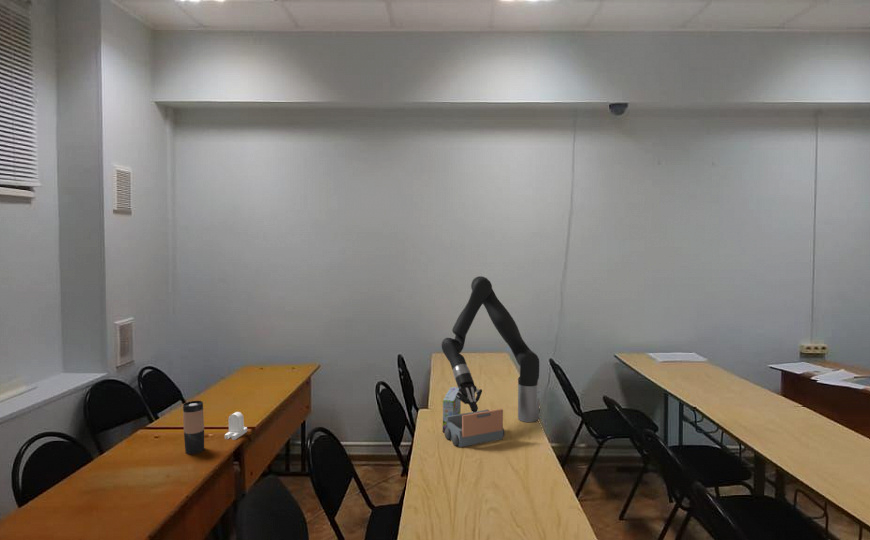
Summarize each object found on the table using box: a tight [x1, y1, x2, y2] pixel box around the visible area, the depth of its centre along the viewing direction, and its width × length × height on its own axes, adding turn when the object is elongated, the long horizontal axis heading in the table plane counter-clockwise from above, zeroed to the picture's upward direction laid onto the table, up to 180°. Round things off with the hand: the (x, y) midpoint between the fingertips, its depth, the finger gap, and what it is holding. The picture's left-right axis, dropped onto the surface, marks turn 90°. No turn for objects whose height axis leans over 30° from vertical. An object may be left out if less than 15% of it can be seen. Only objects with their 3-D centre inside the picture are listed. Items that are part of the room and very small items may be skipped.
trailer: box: [443, 409, 506, 448], centre depth 226 cm, size 23×13×9 cm, turn 114°
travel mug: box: [182, 400, 205, 455], centre depth 214 cm, size 8×8×20 cm
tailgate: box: [462, 408, 504, 437], centre depth 218 cm, size 19×2×9 cm, turn 114°
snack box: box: [442, 386, 462, 433], centre depth 241 cm, size 21×6×15 cm, turn 168°
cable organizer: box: [224, 411, 248, 441], centre depth 231 cm, size 5×10×10 cm, turn 168°
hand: (475, 411), depth 224 cm, fingers closed
